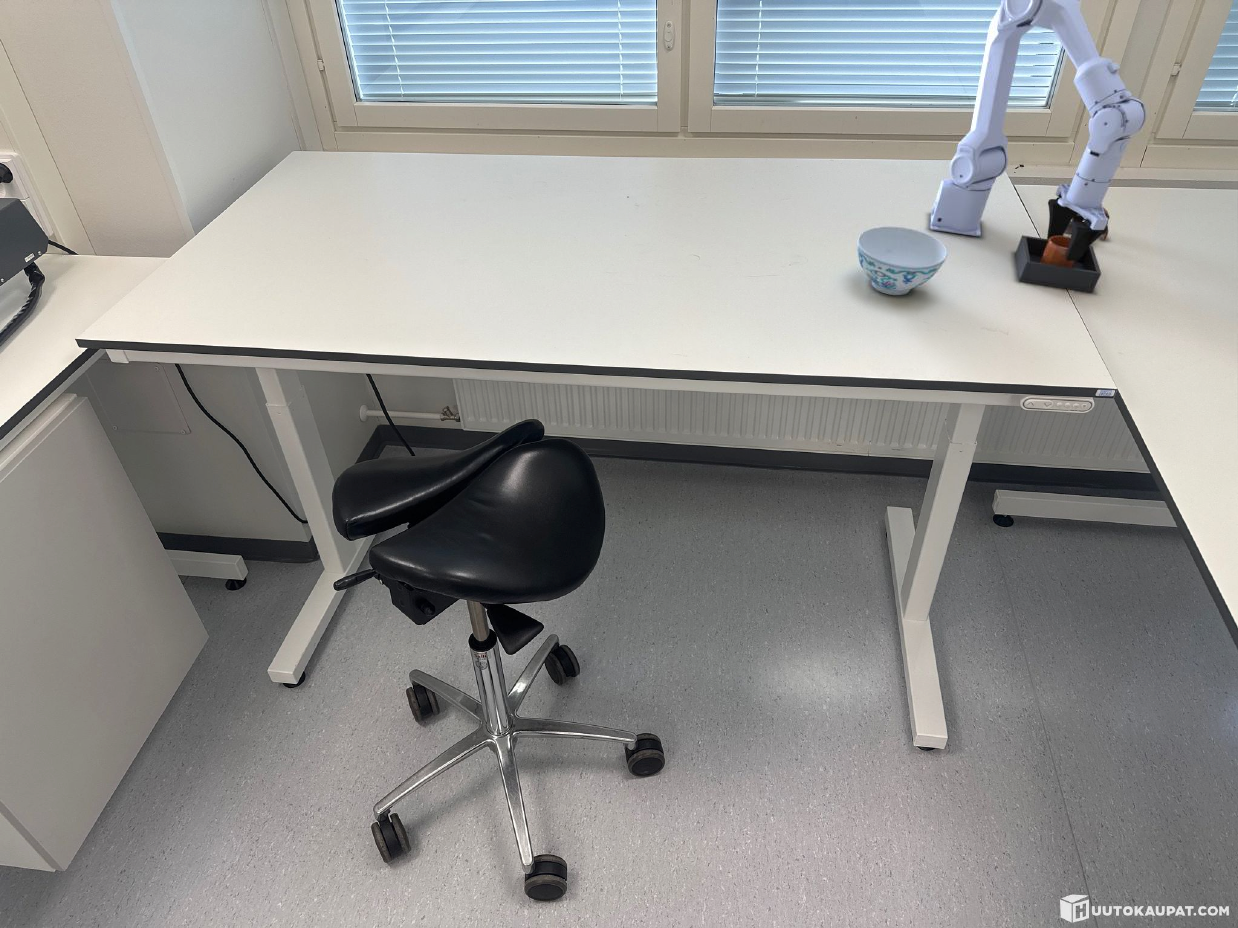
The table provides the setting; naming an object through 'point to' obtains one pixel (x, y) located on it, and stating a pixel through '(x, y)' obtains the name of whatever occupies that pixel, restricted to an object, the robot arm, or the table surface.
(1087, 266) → the tray
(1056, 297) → the table surface
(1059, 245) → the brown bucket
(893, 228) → the chinaware
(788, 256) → the table surface
